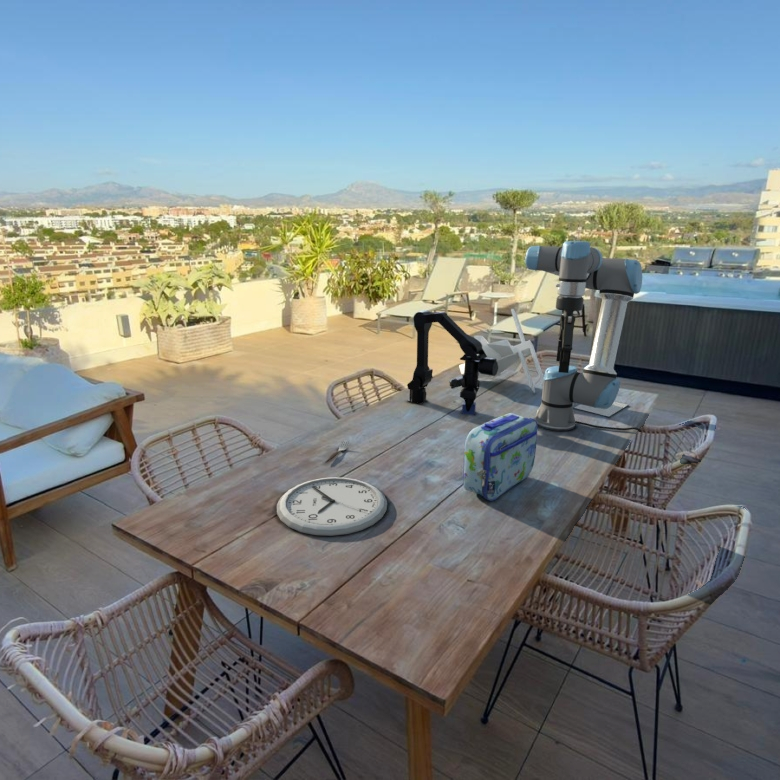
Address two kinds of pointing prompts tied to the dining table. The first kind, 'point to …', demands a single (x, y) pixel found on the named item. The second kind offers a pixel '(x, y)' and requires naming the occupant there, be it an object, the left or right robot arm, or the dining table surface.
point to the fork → (338, 451)
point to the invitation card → (606, 412)
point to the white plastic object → (509, 354)
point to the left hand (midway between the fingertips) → (468, 408)
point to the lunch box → (499, 455)
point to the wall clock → (331, 506)
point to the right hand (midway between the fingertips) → (561, 366)
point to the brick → (472, 410)
